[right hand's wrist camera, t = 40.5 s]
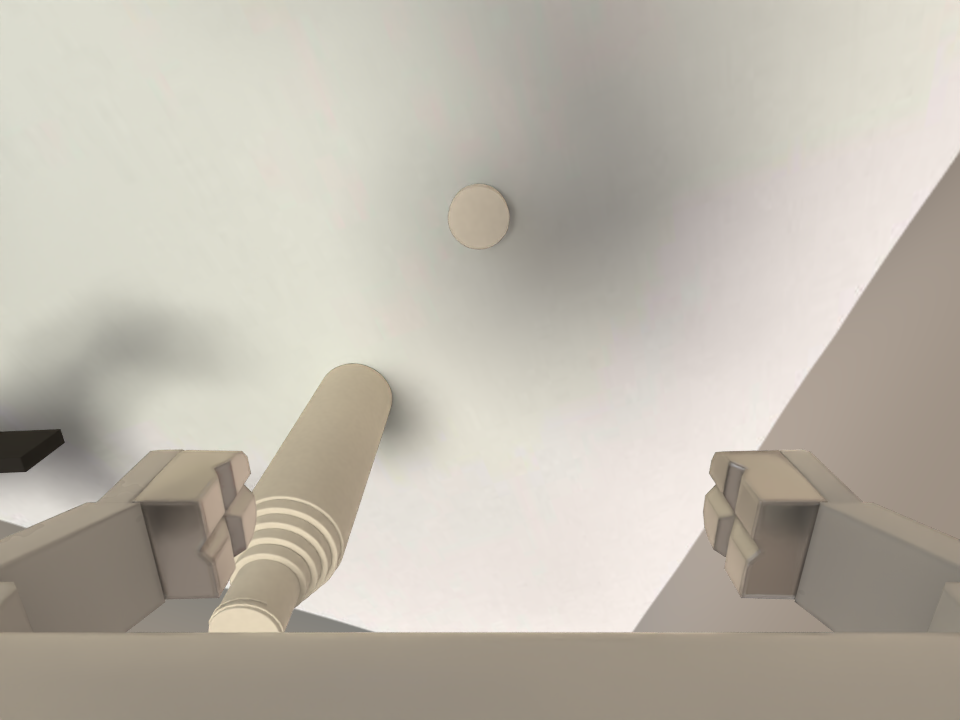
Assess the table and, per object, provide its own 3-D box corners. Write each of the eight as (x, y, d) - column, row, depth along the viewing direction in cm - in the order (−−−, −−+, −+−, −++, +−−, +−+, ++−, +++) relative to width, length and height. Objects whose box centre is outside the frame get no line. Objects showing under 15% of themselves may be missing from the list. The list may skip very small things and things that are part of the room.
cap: (483, 171, 41) (483, 173, 39) (519, 218, 42) (521, 222, 40) (437, 210, 42) (435, 214, 40) (474, 255, 44) (474, 261, 41)
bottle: (405, 385, 47) (336, 616, 25) (372, 440, 49) (281, 702, 27) (338, 350, 46) (202, 560, 24) (307, 408, 48) (154, 654, 26)
